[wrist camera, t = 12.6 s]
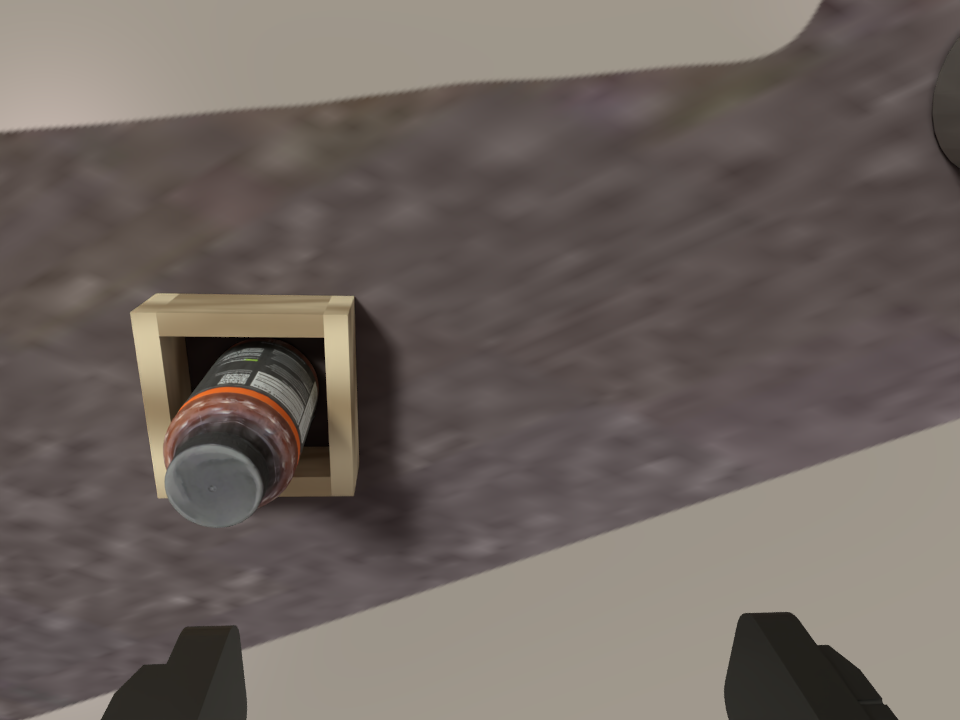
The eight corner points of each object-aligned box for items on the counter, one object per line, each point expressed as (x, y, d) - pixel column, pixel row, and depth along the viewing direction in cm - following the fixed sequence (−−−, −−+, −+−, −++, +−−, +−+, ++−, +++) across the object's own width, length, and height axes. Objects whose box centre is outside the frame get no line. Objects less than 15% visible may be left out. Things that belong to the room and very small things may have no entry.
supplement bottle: (255, 448, 40) (196, 572, 30) (191, 367, 38) (103, 469, 28) (342, 399, 40) (313, 509, 29) (281, 314, 37) (226, 398, 27)
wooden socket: (156, 293, 37) (130, 312, 33) (354, 296, 37) (347, 314, 34) (179, 465, 40) (158, 498, 37) (359, 464, 41) (353, 495, 38)
